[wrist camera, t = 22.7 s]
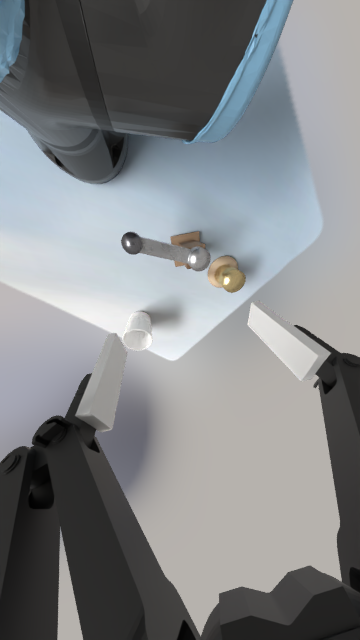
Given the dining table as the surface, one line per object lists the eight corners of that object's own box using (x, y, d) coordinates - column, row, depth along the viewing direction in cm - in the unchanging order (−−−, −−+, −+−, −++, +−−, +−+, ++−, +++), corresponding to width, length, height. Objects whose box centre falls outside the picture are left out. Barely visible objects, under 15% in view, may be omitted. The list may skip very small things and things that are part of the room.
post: (170, 236, 34) (176, 240, 26) (198, 231, 34) (212, 233, 26) (175, 266, 38) (181, 277, 30) (200, 260, 38) (212, 271, 30)
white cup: (152, 310, 44) (152, 329, 36) (152, 329, 49) (151, 350, 41) (127, 308, 43) (120, 328, 35) (128, 328, 47) (123, 350, 39)
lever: (209, 249, 27) (213, 251, 25) (202, 269, 29) (206, 273, 27) (123, 226, 23) (121, 226, 21) (123, 252, 25) (120, 254, 23)
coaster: (207, 259, 38) (207, 259, 38) (238, 252, 38) (239, 253, 38) (208, 289, 43) (208, 290, 43) (235, 283, 44) (236, 284, 43)
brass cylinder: (214, 266, 39) (224, 273, 33) (233, 262, 39) (246, 268, 34) (214, 285, 42) (223, 294, 37) (231, 281, 42) (244, 290, 37)
